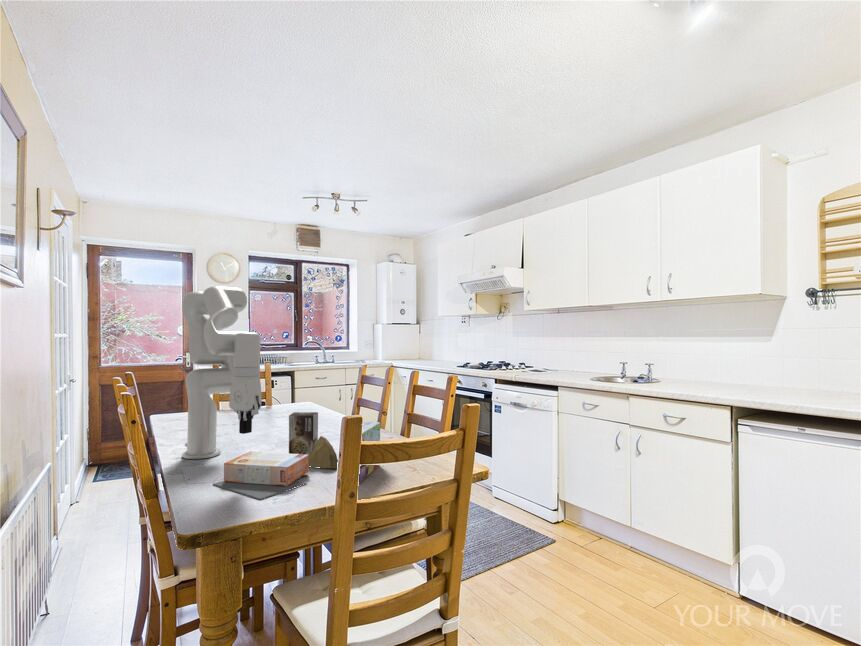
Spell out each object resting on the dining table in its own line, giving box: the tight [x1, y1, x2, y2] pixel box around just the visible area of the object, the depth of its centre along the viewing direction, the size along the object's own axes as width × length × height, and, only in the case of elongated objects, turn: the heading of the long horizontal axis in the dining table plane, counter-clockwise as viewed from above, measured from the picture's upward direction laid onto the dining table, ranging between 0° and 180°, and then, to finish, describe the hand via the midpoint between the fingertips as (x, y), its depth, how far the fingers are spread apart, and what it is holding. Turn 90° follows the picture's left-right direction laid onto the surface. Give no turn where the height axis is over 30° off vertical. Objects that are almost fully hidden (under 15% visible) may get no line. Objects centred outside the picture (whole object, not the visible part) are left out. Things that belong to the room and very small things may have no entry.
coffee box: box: [288, 411, 319, 455], centre depth 164 cm, size 9×6×16 cm
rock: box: [309, 435, 339, 470], centre depth 153 cm, size 11×9×10 cm
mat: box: [212, 479, 307, 501], centre depth 135 cm, size 22×16×1 cm
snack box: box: [359, 421, 382, 484], centre depth 146 cm, size 21×6×15 cm, turn 170°
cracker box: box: [223, 450, 310, 486], centre depth 140 cm, size 14×6×21 cm
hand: (245, 432), depth 139 cm, fingers closed
